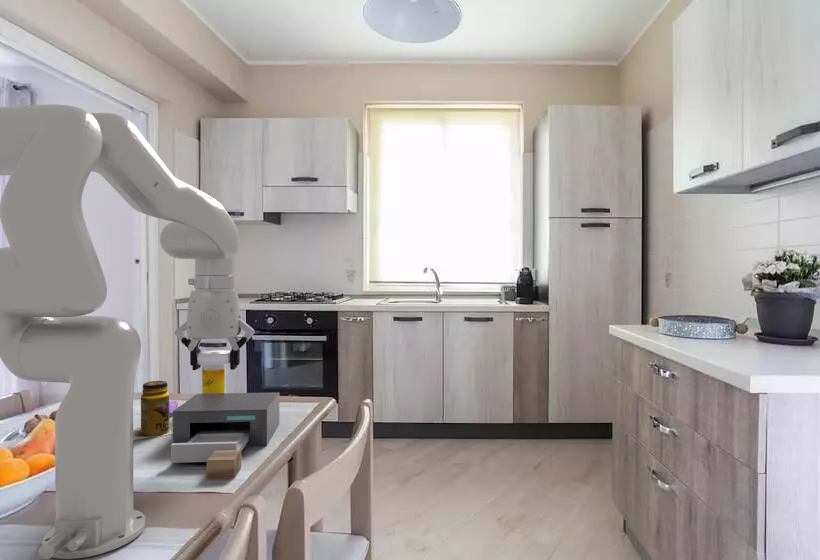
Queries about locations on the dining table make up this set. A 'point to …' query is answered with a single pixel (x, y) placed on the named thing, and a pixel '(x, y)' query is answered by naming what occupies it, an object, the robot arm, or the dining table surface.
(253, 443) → the player
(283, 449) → the dining table surface
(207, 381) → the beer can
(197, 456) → the tray
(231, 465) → the walnut block
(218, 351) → the disc
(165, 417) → the condiment
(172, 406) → the sponges
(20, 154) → the robot arm
